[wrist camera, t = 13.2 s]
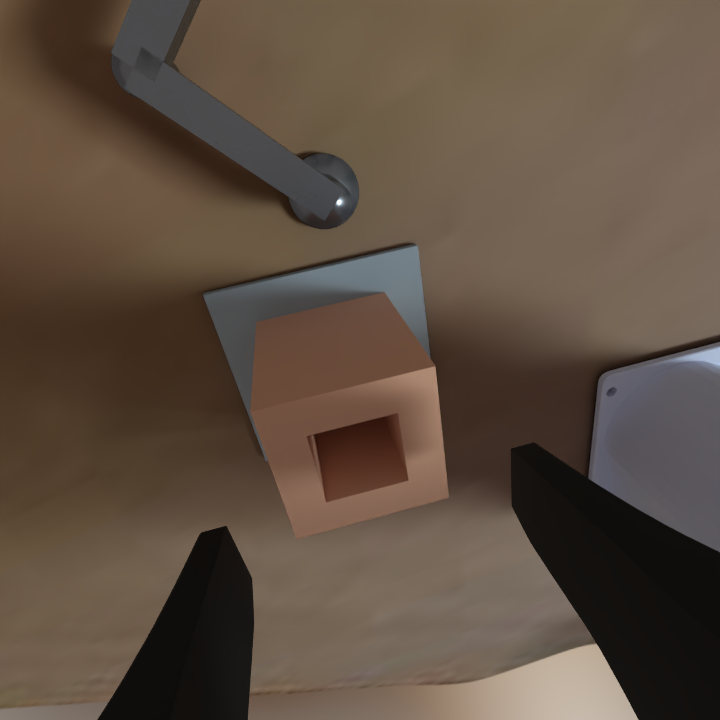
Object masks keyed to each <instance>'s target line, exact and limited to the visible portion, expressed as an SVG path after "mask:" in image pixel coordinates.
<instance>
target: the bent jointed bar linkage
mask: <svg viewBox="0 0 720 720" xmlns="http://www.w3.org/2000/svg"><path fill="white" fill-rule="evenodd" d="M200 1H201V0H132V1H131V4H130V6H129V9H128V11H127V14H126V16H125V19H124V21H123V24H122V26H121V29H120V31H119V34H118V36H117V39H116V41H115V44H114V46H113V49H112V51H111V53H112V54H113V55H112V60H111V65H112V71H113V74H114V77H115V79H116V81H117V82H118V84H119V85H120V86H121V87H122V89H124V90H125V91H126V92H127V93H129V94H130V95H132V96H134V97H137V98H140V99H141V100H143V101H144V102H146V103H147V104H149V105H150V106H152V107H154V108H155V109H157V110H158V111H160V112H161V113H163V114H164V115H166V116H167V117H169V118H170V119H172V120H173V121H175V122H176V123H178V124H179V125H181V126H182V127H184V128H185V129H187V130H188V131H190V132H191V133H193V134H194V135H196V136H197V137H199V138H200V139H202V140H203V141H205V142H206V143H208V144H209V145H211V146H212V147H214V148H215V149H217V150H218V151H220V152H222V153H223V154H225V155H226V156H228V157H229V158H231V159H232V160H234V161H235V162H237V163H238V164H240V165H241V166H243V167H244V168H246V169H247V170H249V171H250V172H252V173H253V174H255V175H256V176H258V177H259V178H261V179H262V180H264V181H265V182H267V183H268V184H270V185H271V186H273V187H274V188H276V189H277V190H279V191H280V192H282V193H283V194H285V195H286V196H288V197H289V202H290V205H291V207H292V209H293V211H294V213H295V214H296V215H297V217H298V218H299V219H300V220H301V221H303V222H304V223H305V224H307V225H309V226H311V227H314V228H318V229H330V228H334V227H337V226H339V225H341V224H343V223H344V222H345V221H346V220H348V219H349V217H350V216H351V215H352V214H353V212H354V210H355V208H356V206H357V202H358V198H359V186H358V181H357V178H356V176H355V174H354V172H353V170H352V169H351V167H350V166H349V165H348V164H347V163H346V162H344V161H343V160H342V159H340V158H338V157H336V156H334V155H331V154H326V153H318V154H313V155H310V156H308V157H306V158H304V159H303V160H302V159H301V158H299V157H298V156H296V155H295V154H294V153H292V152H291V151H289V150H288V149H286V148H285V147H284V146H282V145H281V144H279V143H278V142H277V141H275V140H274V139H272V138H271V137H270V136H268V135H267V134H265V133H264V132H263V131H261V130H260V129H258V128H257V127H255V126H254V125H253V124H251V123H250V122H248V121H247V120H246V119H244V118H243V117H241V116H240V115H239V114H237V113H236V112H234V111H233V110H232V109H230V108H229V107H227V106H226V105H224V104H223V103H222V102H220V101H219V100H217V99H216V98H215V97H213V96H212V95H210V94H209V93H208V92H206V91H205V90H203V89H202V88H201V87H199V86H198V85H196V84H195V83H193V82H192V81H191V80H189V79H188V78H186V77H185V76H184V75H182V74H181V73H180V72H179V70H178V68H177V67H176V65H175V64H174V63H173V62H174V60H175V57H176V55H177V53H178V51H179V48H180V46H181V44H182V42H183V39H184V37H185V35H186V33H187V30H188V28H189V26H190V24H191V21H192V19H193V17H194V15H195V12H196V10H197V8H198V6H199V3H200Z"/></svg>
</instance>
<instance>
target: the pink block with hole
mask: <svg viewBox="0 0 720 720" xmlns="http://www.w3.org/2000/svg"><path fill="white" fill-rule="evenodd" d="M250 413H251V415H252V418H253V421H254V424H255V426H256V429H257V432H258V434H259V437H260V440H261V443H262V445H263V448H264V451H265V454H266V456H267V459H268V462H269V465H270V467H271V470H272V473H273V475H274V478H275V481H276V484H277V486H278V489H279V492H280V495H281V497H282V500H283V503H284V506H285V508H286V511H287V514H288V517H289V519H290V522H291V525H292V527H293V530H294V533H295V536H296V538H297V539H299V538H303V537H306V536H310V535H314V534H318V533H321V532H325V531H329V530H332V529H336V528H340V527H343V526H347V525H351V524H355V523H358V522H362V521H366V520H369V519H373V518H377V517H380V516H384V515H388V514H392V513H395V512H399V511H403V510H406V509H410V508H414V507H418V506H421V505H425V504H429V503H432V502H436V501H440V500H443V499H447V498H449V493H448V484H447V474H446V464H445V454H444V445H443V435H442V425H441V415H440V406H439V396H438V386H437V376H436V367H435V365H434V363H433V362H432V360H431V359H430V358H429V356H428V355H427V353H426V352H425V350H424V349H423V347H422V346H421V344H420V343H419V341H418V340H417V339H416V337H415V336H414V334H413V333H412V331H411V330H410V328H409V327H408V325H407V324H406V323H405V321H404V320H403V318H402V317H401V315H400V314H399V312H398V311H397V309H396V308H395V307H394V305H393V304H392V302H391V301H390V299H389V298H388V296H387V295H386V293H385V292H383V293H379V294H374V295H370V296H366V297H361V298H357V299H353V300H348V301H344V302H340V303H336V304H331V305H327V306H323V307H318V308H314V309H310V310H305V311H301V312H297V313H292V314H288V315H284V316H280V317H275V318H271V319H267V320H262V321H258V322H256V333H255V348H254V363H253V378H252V393H251V408H250Z"/></svg>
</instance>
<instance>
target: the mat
mask: <svg viewBox="0 0 720 720" xmlns="http://www.w3.org/2000/svg"><path fill="white" fill-rule="evenodd" d="M383 292H385V293H386V295H387V296H388V298H389V299H390V301H391V302H392V304H393V305H394V307H395V308H396V309H397V311H398V312H399V314H400V315H401V317H402V318H403V320H404V321H405V323H406V324H407V325H408V327H409V328H410V330H411V331H412V333H413V334H414V336H415V337H416V339H417V340H418V341H419V343H420V344H421V346H422V347H423V349H424V350H425V352H426V353H427V355H428V356H429V358H430V359H431V357H430V348H429V339H428V331H427V322H426V314H425V305H424V296H423V288H422V279H421V271H420V262H419V253H418V245H416V244H412V245H407V246H403V247H399V248H394V249H390V250H386V251H382V252H377V253H373V254H369V255H364V256H360V257H356V258H351V259H347V260H343V261H339V262H334V263H330V264H326V265H321V266H317V267H313V268H308V269H304V270H300V271H296V272H291V273H287V274H283V275H278V276H274V277H270V278H265V279H261V280H257V281H253V282H248V283H244V284H240V285H235V286H231V287H227V288H222V289H218V290H214V291H210V292H205V293H204V294H203V297H204V299H205V302H206V305H207V307H208V310H209V313H210V315H211V318H212V320H213V323H214V326H215V328H216V331H217V334H218V336H219V339H220V342H221V344H222V347H223V349H224V352H225V355H226V357H227V360H228V363H229V365H230V368H231V370H232V373H233V376H234V378H235V381H236V384H237V386H238V389H239V392H240V394H241V397H242V399H243V402H244V405H245V407H246V410H247V413H248V415H249V418H250V421H251V423H252V426H253V428H254V431H255V434H256V436H257V439H258V442H259V444H260V447H261V449H262V452H263V455H264V457H265V460H266V461H268V459H267V456H266V454H265V451H264V448H263V445H262V443H261V440H260V437H259V434H258V432H257V429H256V426H255V424H254V421H253V418H252V415H251V413H250V408H251V393H252V378H253V363H254V348H255V333H256V322H258V321H262V320H267V319H271V318H275V317H280V316H284V315H288V314H292V313H297V312H301V311H305V310H310V309H314V308H318V307H323V306H327V305H331V304H336V303H340V302H344V301H348V300H353V299H357V298H361V297H366V296H370V295H374V294H379V293H383Z"/></svg>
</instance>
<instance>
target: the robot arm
mask: <svg viewBox="0 0 720 720" xmlns="http://www.w3.org/2000/svg"><path fill="white" fill-rule="evenodd" d="M610 388H611V389H610ZM609 389H610V390H609ZM608 390H609V391H608ZM511 487H512V507H513V509H514V511H515V513H516V515H517V517H518V519H519V521H520V523H521V525H522V527H523V529H524V531H525V533H526V535H527V537H528V539H529V540H530V542H531V544H532V546H533V547H534V549H535V550H536V552H537V553H538V555H539V556H540V558H541V559H542V561H543V562H544V564H545V566H546V567H547V569H548V570H549V572H550V573H551V575H552V576H553V578H554V579H555V581H556V582H557V584H558V585H559V587H560V588H561V590H562V591H563V593H564V594H565V596H566V597H567V599H568V600H569V602H570V603H571V605H572V606H573V608H574V609H575V611H576V612H577V614H578V615H579V617H580V618H581V620H582V621H583V623H584V624H585V626H586V627H587V629H588V630H589V632H590V633H591V635H592V637H593V638H594V640H595V642H596V643H597V645H598V646H599V648H600V650H601V651H602V653H603V655H604V657H605V659H606V660H607V662H608V664H609V666H610V668H611V670H612V671H613V673H614V675H615V677H616V678H617V680H618V682H619V684H620V686H621V688H622V689H623V691H624V693H625V695H626V697H627V699H628V701H629V702H630V704H631V706H632V708H633V710H634V712H635V714H636V716H637V718H638V719H639V720H720V342H717V343H714V344H710V345H706V346H702V347H698V348H694V349H691V350H687V351H683V352H679V353H675V354H672V355H668V356H664V357H660V358H656V359H652V360H649V361H645V362H641V363H637V364H633V365H629V366H626V367H622V368H618V369H614V370H610V371H607V372H605V373H604V374H603V375H601V377H600V378H599V381H598V388H597V398H596V408H595V417H594V427H593V437H592V446H591V456H590V466H589V475H588V478H587V477H585V476H584V475H582V474H581V473H579V472H578V471H576V470H575V469H573V468H572V467H570V466H569V465H567V464H566V463H564V462H563V461H561V460H560V459H558V458H557V457H555V456H554V455H552V454H551V453H549V452H548V451H546V450H545V449H543V448H542V447H540V446H538V445H537V444H535V443H530V444H527V445H523V446H519V447H516V448H512V449H511ZM253 632H254V608H253V587H252V577H251V575H250V573H249V571H248V569H247V567H246V565H245V563H244V561H243V559H242V557H241V555H240V553H239V551H238V549H237V547H236V544H235V542H234V540H233V538H232V536H231V534H230V532H229V530H228V528H227V526H224V527H220V528H216V529H213V530H209V531H205V532H202V533H201V534H200V535H199V537H198V539H197V541H196V543H195V545H194V547H193V549H192V551H191V553H190V555H189V557H188V559H187V561H186V563H185V565H184V568H183V570H182V572H181V574H180V576H179V578H178V580H177V582H176V584H175V586H174V588H173V590H172V592H171V594H170V596H169V597H168V599H167V601H166V603H165V605H164V607H163V609H162V611H161V613H160V615H159V616H158V618H157V620H156V622H155V624H154V626H153V628H152V630H151V631H150V633H149V635H148V637H147V639H146V640H145V642H144V644H143V646H142V647H141V649H140V651H139V652H138V654H137V656H136V658H135V659H134V661H133V663H132V665H131V666H130V668H129V670H128V672H127V673H126V675H125V677H124V678H123V680H122V682H121V683H120V685H119V686H118V688H117V690H116V691H115V693H114V695H113V696H112V698H111V699H110V701H109V703H108V704H107V706H106V707H105V709H104V710H103V712H102V713H101V715H100V716H99V718H98V720H248V706H249V692H250V677H251V663H252V648H253Z"/></svg>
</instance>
